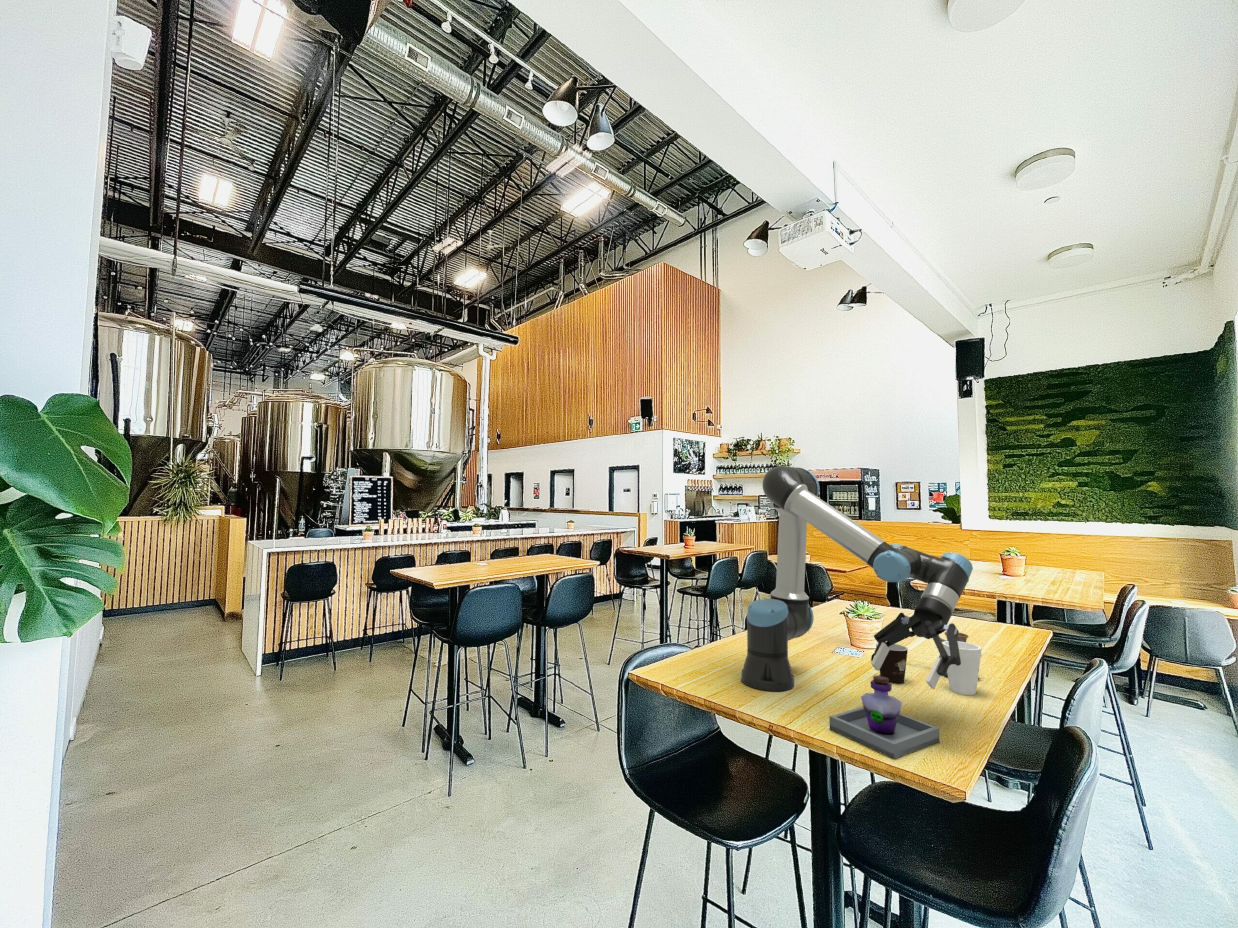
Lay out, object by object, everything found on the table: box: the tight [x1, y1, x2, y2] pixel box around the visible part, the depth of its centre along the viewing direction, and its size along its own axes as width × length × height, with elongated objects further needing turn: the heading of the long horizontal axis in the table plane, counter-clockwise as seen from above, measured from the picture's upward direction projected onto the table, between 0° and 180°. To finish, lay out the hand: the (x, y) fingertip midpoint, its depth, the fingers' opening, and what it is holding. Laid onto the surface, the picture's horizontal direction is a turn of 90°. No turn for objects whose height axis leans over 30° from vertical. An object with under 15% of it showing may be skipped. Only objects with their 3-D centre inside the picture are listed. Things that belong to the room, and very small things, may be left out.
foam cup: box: [942, 640, 982, 696], centre depth 150 cm, size 10×9×13 cm
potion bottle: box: [860, 675, 903, 735], centre depth 121 cm, size 9×9×12 cm
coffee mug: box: [870, 642, 909, 685], centre depth 159 cm, size 12×9×10 cm
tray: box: [829, 706, 941, 760], centre depth 120 cm, size 16×17×3 cm
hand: (901, 675), depth 123 cm, fingers open, 13 cm apart
